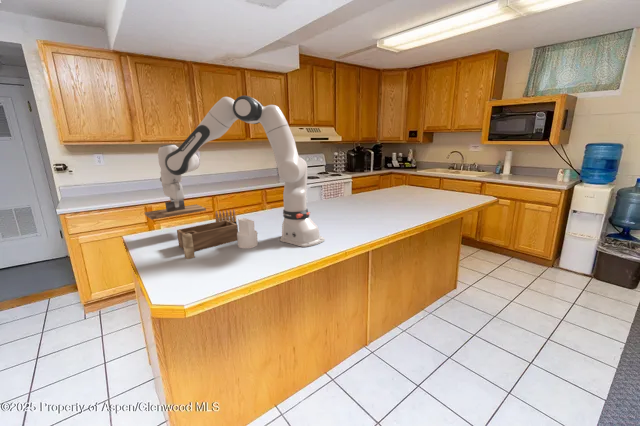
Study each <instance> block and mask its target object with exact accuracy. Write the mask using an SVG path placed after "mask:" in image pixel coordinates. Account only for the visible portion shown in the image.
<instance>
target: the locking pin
mask: <svg viewBox="0 0 640 426" xmlns="http://www.w3.org/2000/svg"><path fill="white" fill-rule="evenodd" d="M182 240H183V247H184V250H183V252H184V258H185V259H186V260H190V259H194V258H195V257H196V256H195V252H194V247H193V240H192V234H190V233H187V234H183V235H182Z"/></svg>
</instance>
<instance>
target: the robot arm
mask: <svg viewBox="0 0 640 426" xmlns="http://www.w3.org/2000/svg"><path fill="white" fill-rule="evenodd" d="M237 120H240V121H242V122H245V123H247V124H251V125H252V124H253V125H258V124H261V126H262V127H263V130H264V133H265V134H266V135H265V136H266V137H267V139H268V141H269V144H270V147H271V150H272V152H273V155H274V161H275V163H276V167H277V172H278V177H279V178H280V179H281V180H282V181H283V182H284V186H283V187H284V189H283V193H282V194H283V195H282V196H283V199H282V200H283V210H282V214H283V215H282V216H283V222H282V226H281V237H280V240H279V241H280V242H283V243H287V244H291V245H295V246H299V247H302V248H305V247H312V246H315V245H319V244H321V243H323V242H324V241H326V239H325V237H324V236H321V235H320V234H321V233H320V229H319V226H318V224H316V223H315V222H314V221H313V220H312V219H311V217H310V215H311V212H310V211H309V209H308V207H307V203H308V202H307V187H308V186H307V185H308V164H307V161H306V160H305V159H304V158H302V157H301V156H299V153H298V149H297V144H296V140H295V138H294V136H293V133H292V130H291V127H290V126H289V123H288V121H287V119H286V117H285V115H284V113H283V111H282V110H281V108H280V107H279V106H278V105H275V104H267V105H266V106H264V105H263V104H262V102H260V101H258V100H257V99H256V98H254V97H251V96H248V95H240V96H237V98H236V99H233V98H232V97H230V96H223V97H221V98H220V99H219V100H218V101H217V102H216V103H215V104H214V105H213V106H212V107H211V108H210V110H209V111H208V112H207V113H206V115H204V117H203V118H202V120H201V122H200V123H199V124H198V125H197V126H196V128H195V129H194V130H193V131H192V132H191V133H190V134H189V135H188V136H187V138H186V139H184V141H183V142H182V143H181V144H180V146H179V147H178V146H177V145H176V144H172V143H171V144H164V145H161V146H160V147H159V148H158V150H157V158H158V164H159V167H160V172H159V173H160V178H159V181H160V182H161V185H162V189H163V191H162V192H163V194H164V195H165V196H166V197H169V200H170V202H171V201H174V207H179V200H184V199H185V194H184V188H183V184H182V182H183V179H182V175H184V174H186V173H191V172H193V171H195V170H197V169H198V168H199V167H200V164H201V163H200V162H201V160H200V158H199V156H198V154H197V152H198V151H199V149H200V148H201V147H202V146H204V145H205V144H207V143H209V142H212V141H214V140H216V139H220V138H222V136H224V135H225V134H226V133H227V132H228V131H229V130H230V128H231V127H232V126H233V124H234V123H235V122H236V121H237Z"/></svg>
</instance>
